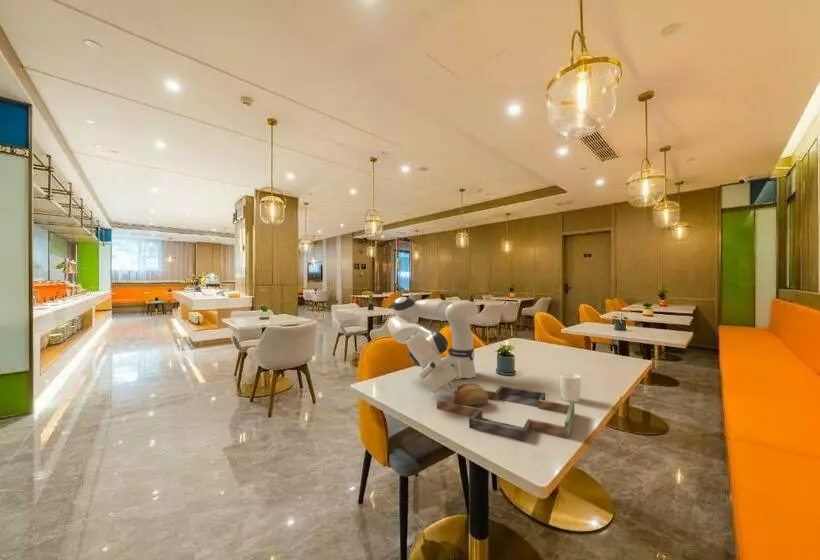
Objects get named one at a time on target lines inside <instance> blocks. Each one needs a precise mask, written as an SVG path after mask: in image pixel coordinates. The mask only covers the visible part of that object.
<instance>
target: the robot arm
mask: <svg viewBox="0 0 820 560" xmlns="http://www.w3.org/2000/svg"><path fill="white" fill-rule="evenodd" d="M392 306H393V307H392V308H393V310H394V314H395V315H394V316H392V317H390V318H389V320H388V321H387V329H388V332H389V333H390V336H391V337H392V338H393V339H394V340H395V341H396V342H397V343H399V344H403V345H404V344H406V346H407V348H408V350H409V353H408V358H410V359H411V361H412V363H414V366H415V367H421V370H420V371H419V373H418V376H419V377H420V378H421V379H422V380H423V382H424V383H425V385H426V388H427V389H429V390H430V392H431V393H432V394H433V393H434V394H435V393H436V392H438V391H440V390H441V389H443V390H444V391H445V392H446V393H448V394H449V396H450V397H452V396H454V395H455V393H456V391H457V389H455V387H454V384H453V381H454V380H462V379H461V378H467V379H473V378H476V377H477V372H476V367H475V361H474V359H475V348H474V333H473V332H472V330H471V326H470V322H471V321H473V320H474V319H475V318H476V317H477V315H478V314H479V308H478V306H477V304H476V303H474V302H473V301H470V300H469V301H468V300H454V299H453V300H449V299H447V300H445V299H444V300H443V299H428V298H427V299H419V300H416V301H415V300H414V299H412V298H410V297H408V296H400V297H397V298H396V299H395V300H393V302H392ZM419 317H420V318H422V319H428V320H437V321H448V324H449V327H450V332H451V347H450V348H449V349H448V345H449V342H448V339H447V338H446V336H445V335H444V334H443V333H441V332H440V331H436V330H433V329H431V328H429V327H428V326H425V325H423V324H421V323H418V321H417V318H419ZM469 321H470V322H469ZM445 352H447V353H448V354H447V355H446V356H445V357H444V358H441V357H440V355H442V354H443V353H445ZM472 377H473V378H472Z"/></svg>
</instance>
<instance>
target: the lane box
mask: <svg viewBox="0 0 820 560" xmlns="http://www.w3.org/2000/svg"><path fill="white" fill-rule="evenodd" d="M460 386H461V385H457V386H456V390H457V389H458V388H459V387H460ZM484 390H485V392H486V393H487V395H488V400H493V401H498V400H499V401H505V402H510V403H514V404H521V405H526V406H531V407H535V408H538V409H542V410H547V411H552V412H556V413H562V414H566V417H565V420H564V425H560V424H556V423H550V422H546V421H541V420H537V419H536V420H535V419H531V418H527V420H526V422H525V423H524V426H519V425H515V424H510V423H505V422H500V421H496V420H492V419H487V418H483V408H478V407H475V406H465V405H460V404H455V403H454V402H451V401H450V402H449V401H446V400H440V399H438V400H436V409H437V410H440V411H441V410H442V411H447V412H451V413H455V414H459V415H463V416H468V417H469V419H468V425H469V427H468V428H469V429H474V430H476V431H481V432H484V433H485V432H486V433H490V434H493V435H497V436H502V437H505V438H509V439H514V440H518V441H523V442H526V441H527V440H528V438H529V435H530V434H531V431H534V430H535V432H539V431H540V432H539V433H543V432H544V434H548V435H552V436H553V435H554V436H557V437H561V436H562V437H561V438H565V437H567V438H566V439H570V436H571V433H572V427H573V423H574V418H575V402H574V400H571V401H570V402H569V404H567V403H566V404H565V403H560V402H556V401H555V402H554V401H549V400H546V392H541V391H535V390H529V389H523V388H517V387H512V386H511V387H509V386H505V385H501V386H499V387H498V388H497V389H496V390H495V391H492V390H486V389H484Z"/></svg>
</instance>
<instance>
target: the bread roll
mask: <svg viewBox="0 0 820 560" xmlns="http://www.w3.org/2000/svg"><path fill="white" fill-rule="evenodd" d="M459 386H460V387H459V388H458V389H457V388H456V393H454V398H453V403H455V404H460V405H465V406H470V407H473V406H478V405H479V406H482V405H486V404H487V403H488V402H489V399H488V395H487V393H486V392H485V390H486V389H484V387H482V386H480V385H479V384H475V383H465V384H464V383H463V384H461V385H459Z"/></svg>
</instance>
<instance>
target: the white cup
mask: <svg viewBox="0 0 820 560" xmlns="http://www.w3.org/2000/svg"><path fill="white" fill-rule="evenodd" d="M581 377H582V376H581V375H579V374H576V373H573V372H561V373H560V374H559V386H560V392H561V393H560V395H561V399H562V400H563V401H564V402H565V401H566V402H568V403H570V401H571V400H574V403H578V402H580V396H581V395H580V394H581V383H582V381H581V379H582V378H581Z"/></svg>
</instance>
